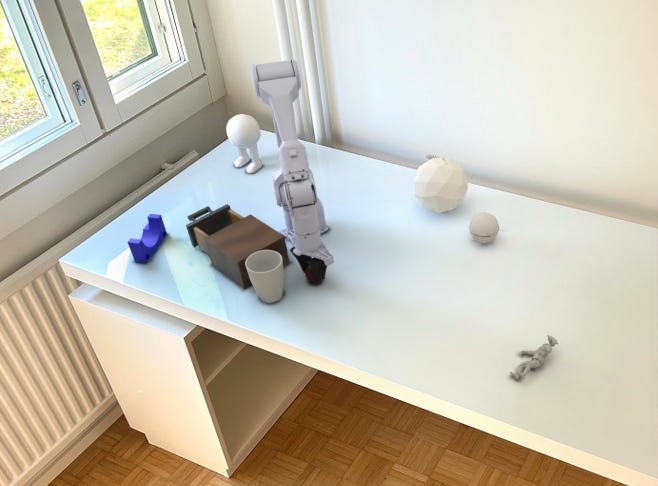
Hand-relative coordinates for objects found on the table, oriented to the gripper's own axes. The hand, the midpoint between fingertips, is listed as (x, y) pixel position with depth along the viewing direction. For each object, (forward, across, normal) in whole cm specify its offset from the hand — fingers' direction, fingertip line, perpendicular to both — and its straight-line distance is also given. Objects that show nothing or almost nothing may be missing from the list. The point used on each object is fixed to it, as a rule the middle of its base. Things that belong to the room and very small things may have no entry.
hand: (314, 276), depth 171 cm
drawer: (+1, -29, -7) cm, 29 cm away
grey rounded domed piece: (+2, +20, +39) cm, 44 cm away
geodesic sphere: (+2, +1, +42) cm, 42 cm away
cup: (+2, -3, -10) cm, 11 cm away
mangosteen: (+1, 0, 0) cm, 1 cm away
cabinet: (+1, -16, -6) cm, 18 cm away
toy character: (+2, -54, +21) cm, 58 cm away
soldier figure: (+2, +55, +13) cm, 56 cm away
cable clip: (+2, -41, -20) cm, 46 cm away
